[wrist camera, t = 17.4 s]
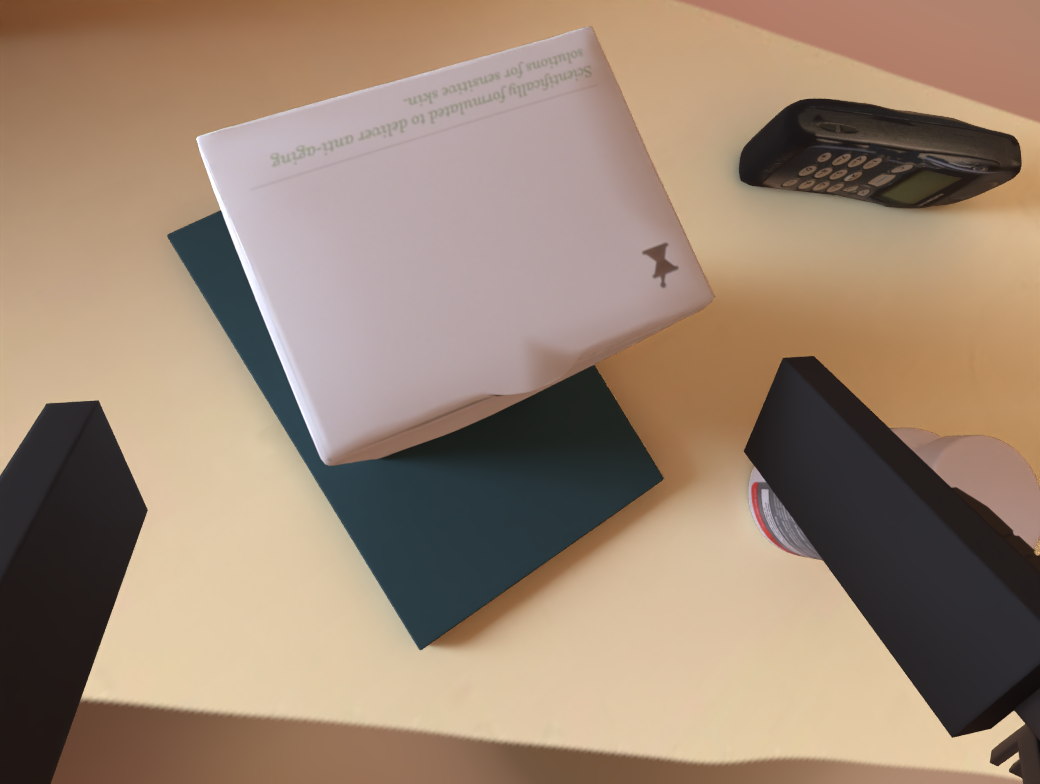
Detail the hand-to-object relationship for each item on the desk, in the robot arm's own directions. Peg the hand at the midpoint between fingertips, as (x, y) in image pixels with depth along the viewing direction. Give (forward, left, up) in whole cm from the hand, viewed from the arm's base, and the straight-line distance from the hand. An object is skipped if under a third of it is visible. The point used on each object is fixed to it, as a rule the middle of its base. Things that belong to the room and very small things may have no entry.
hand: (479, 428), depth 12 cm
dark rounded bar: (+16, +22, -15) cm, 31 cm away
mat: (-2, +3, -15) cm, 15 cm away
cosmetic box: (-2, +3, -14) cm, 14 cm away
